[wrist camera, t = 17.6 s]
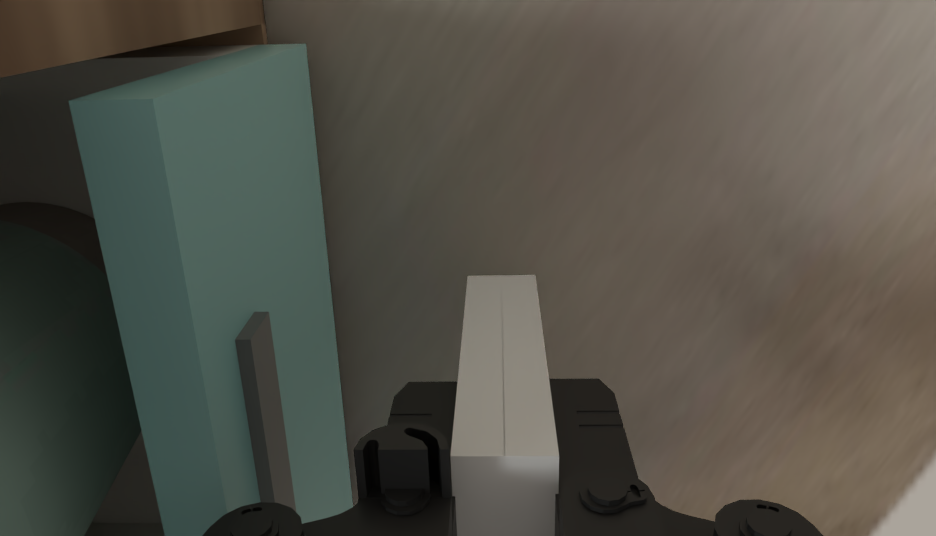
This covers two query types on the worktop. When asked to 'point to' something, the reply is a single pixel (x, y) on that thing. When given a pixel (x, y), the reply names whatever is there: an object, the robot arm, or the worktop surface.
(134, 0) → the cubby
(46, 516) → the coffee cup
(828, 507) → the worktop surface
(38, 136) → the teal drawer
